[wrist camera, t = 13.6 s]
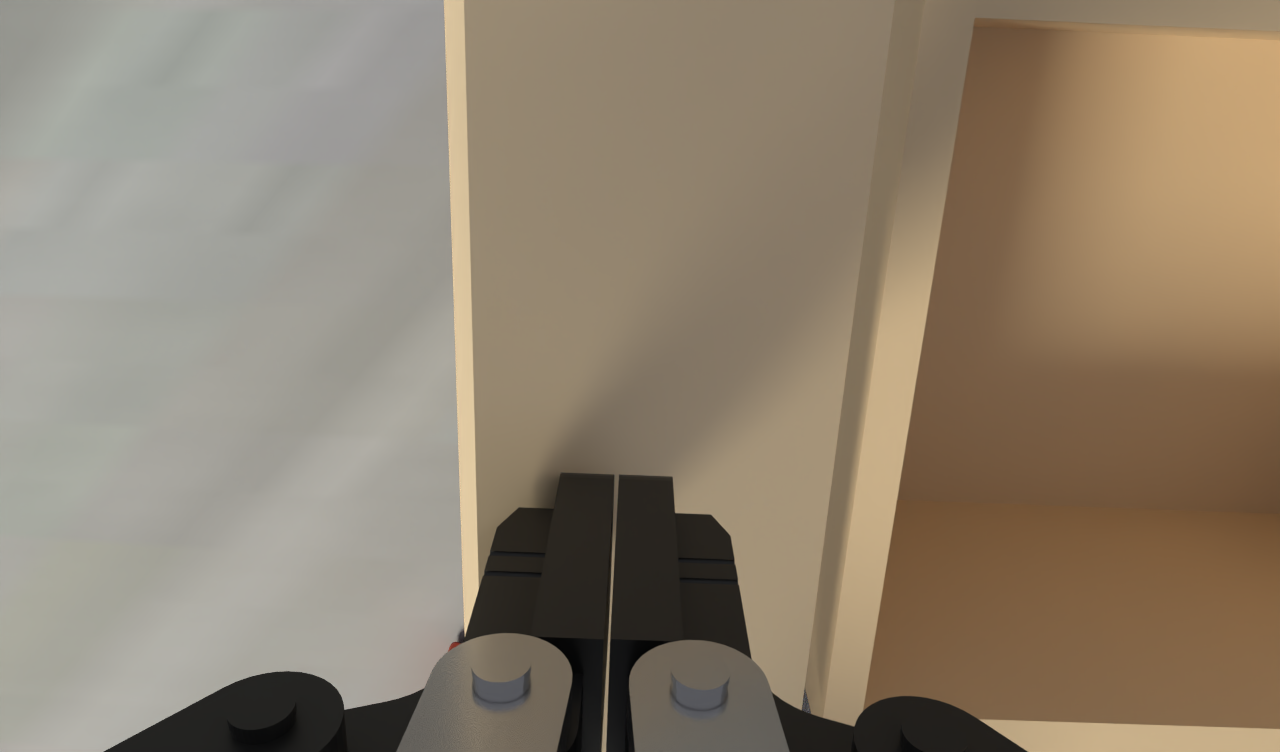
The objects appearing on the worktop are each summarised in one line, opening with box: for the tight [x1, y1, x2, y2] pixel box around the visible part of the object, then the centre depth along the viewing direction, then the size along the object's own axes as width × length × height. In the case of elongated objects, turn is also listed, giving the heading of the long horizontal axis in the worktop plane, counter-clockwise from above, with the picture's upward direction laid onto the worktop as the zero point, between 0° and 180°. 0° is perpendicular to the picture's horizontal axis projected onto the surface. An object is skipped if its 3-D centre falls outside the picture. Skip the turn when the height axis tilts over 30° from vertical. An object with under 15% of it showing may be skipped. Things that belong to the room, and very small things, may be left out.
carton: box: [805, 0, 1280, 752], centre depth 21 cm, size 17×16×10 cm
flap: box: [444, 0, 895, 752], centre depth 14 cm, size 7×14×1 cm
